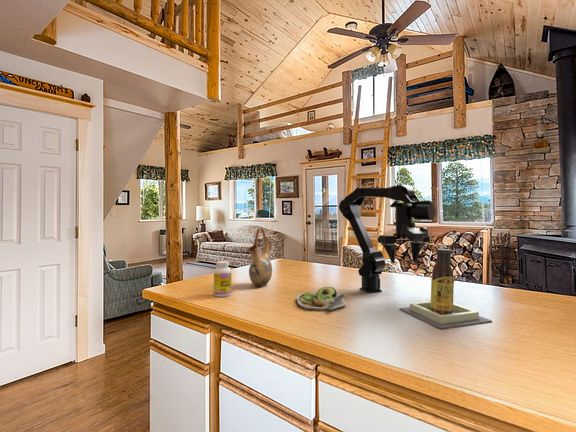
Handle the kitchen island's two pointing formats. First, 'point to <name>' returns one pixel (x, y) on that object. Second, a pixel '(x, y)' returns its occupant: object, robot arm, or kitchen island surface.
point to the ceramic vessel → (260, 262)
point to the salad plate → (322, 299)
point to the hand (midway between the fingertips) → (404, 262)
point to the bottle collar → (462, 314)
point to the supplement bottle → (222, 279)
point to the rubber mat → (446, 325)
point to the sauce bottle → (442, 284)
